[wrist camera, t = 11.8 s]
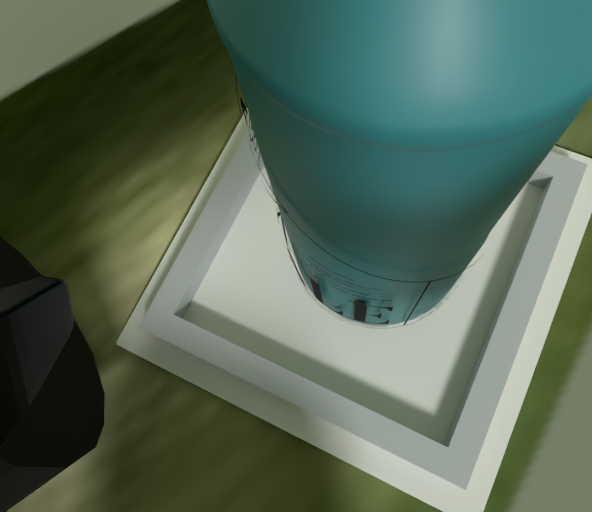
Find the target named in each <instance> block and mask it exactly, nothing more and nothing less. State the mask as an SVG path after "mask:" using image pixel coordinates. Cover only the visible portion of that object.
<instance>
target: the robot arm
mask: <svg viewBox="0 0 592 512" xmlns="http://www.w3.org/2000/svg"><path fill="white" fill-rule="evenodd" d="M72 328H73V313H72V307H71V302H70V296H69V290H68V286H67V284H66V282H65V281H63V280H62V279H57V278H51V277H44V276H40V277H36V278H33V279H30V280H27V281H24V282H21V283H18V284H15V285H12V286H9V287H6V288H3V289H0V448H1V447H2V445H3V444H4V442H5V441H6V440H7V438H8V437H9V435H10V434H11V433H12V431H13V430H14V428H15V427H16V425H17V424H18V423H19V421H20V420H21V418H22V417H23V415H24V414H25V412H26V411H27V409H28V408H29V406H30V405H31V403H32V401H33V400H34V398H35V396H36V395H37V393H38V391H39V389H40V388H41V386H42V384H43V382H44V380H45V379H46V377H47V375H48V373H49V371H50V370H51V368H52V366H53V364H54V363H55V361H56V359H57V357H58V355H59V354H60V352H61V350H62V348H63V346H64V345H65V343H66V341H67V339H68V337H69V336H70V334H71V331H72Z"/></svg>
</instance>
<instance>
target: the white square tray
mask: <svg viewBox="0 0 592 512" xmlns="http://www.w3.org/2000/svg"><path fill="white" fill-rule="evenodd" d="M247 111H248V108H247ZM245 116H246V120H247V123H246V120H245V117H244V114H243V116H242V118H241V120H240V121H239V123H238V125H237V127H236V129H235V130H234V132H233V134H232V136H231V138H230V139H229V141H228V143H227V145H226V146H225V148H224V150H223V152H222V154H221V155H220V157H219V159H218V161H217V163H216V164H215V166H214V168H213V170H212V172H211V173H210V175H209V177H208V179H207V180H206V182H205V184H204V186H203V188H202V189H201V191H200V193H199V195H198V197H197V198H196V200H195V202H194V204H193V206H192V207H191V209H190V211H189V213H188V214H187V216H186V218H185V220H184V222H183V223H182V225H181V227H180V229H179V231H178V232H177V234H176V236H175V238H174V240H173V241H172V243H171V245H170V247H169V248H168V250H167V252H166V254H165V256H164V257H163V259H162V261H161V263H160V265H159V266H158V268H157V270H156V272H155V273H154V275H153V277H152V279H151V281H150V282H149V284H148V286H147V288H146V290H145V291H144V293H143V295H142V297H141V299H140V300H139V302H138V304H137V306H136V307H135V309H134V311H133V313H132V315H131V316H130V318H129V320H128V322H127V324H126V325H125V327H124V329H123V331H122V333H121V334H120V336H119V338H118V340H117V341H116V343H115V344H116V345H118V346H120V347H122V348H124V349H126V350H128V351H130V352H132V353H134V354H136V355H138V356H140V357H142V358H144V359H146V360H148V361H150V362H151V363H153V364H155V365H157V366H159V367H161V368H163V369H165V370H167V371H169V372H171V373H173V374H175V375H177V376H179V377H181V378H183V379H185V380H187V381H189V382H191V383H193V384H195V385H196V386H198V387H200V388H202V389H204V390H206V391H208V392H210V393H212V394H214V395H216V396H218V397H220V398H222V399H224V400H226V401H228V402H230V403H232V404H234V405H236V406H238V407H240V408H241V409H243V410H245V411H247V412H249V413H251V414H253V415H255V416H257V417H259V418H261V419H263V420H265V421H267V422H269V423H271V424H273V425H275V426H277V427H279V428H281V429H283V430H285V431H286V432H288V433H290V434H292V435H294V436H296V437H298V438H300V439H302V440H304V441H306V442H308V443H310V444H312V445H314V446H316V447H318V448H320V449H322V450H324V451H326V452H328V453H330V454H331V455H333V456H335V457H337V458H339V459H341V460H343V461H345V462H347V463H349V464H351V465H353V466H355V467H357V468H359V469H361V470H363V471H365V472H367V473H369V474H371V475H373V476H375V477H376V478H378V479H380V480H382V481H384V482H386V483H388V484H390V485H392V486H394V487H396V488H398V489H400V490H402V491H404V492H406V493H408V494H410V495H412V496H414V497H416V498H418V499H420V500H421V501H423V502H425V503H427V504H429V505H431V506H433V507H435V508H437V509H439V510H441V511H443V512H483V511H484V508H485V505H486V502H487V500H488V497H489V494H490V491H491V489H492V486H493V483H494V480H495V478H496V475H497V472H498V469H499V466H500V464H501V461H502V458H503V455H504V453H505V450H506V447H507V444H508V442H509V439H510V436H511V433H512V431H513V428H514V425H515V422H516V420H517V417H518V414H519V411H520V409H521V406H522V403H523V400H524V398H525V395H526V392H527V389H528V386H529V384H530V381H531V378H532V375H533V373H534V370H535V367H536V364H537V362H538V359H539V356H540V353H541V351H542V348H543V345H544V342H545V340H546V337H547V334H548V331H549V329H550V326H551V323H552V320H553V317H554V315H555V312H556V309H557V306H558V304H559V301H560V298H561V295H562V293H563V290H564V287H565V284H566V282H567V279H568V276H569V273H570V271H571V268H572V265H573V262H574V260H575V257H576V254H577V251H578V248H579V246H580V243H581V240H582V237H583V235H584V232H585V229H586V226H587V224H588V221H589V218H590V215H591V213H592V159H591V158H588V157H586V156H583V155H580V154H577V153H574V152H571V151H568V150H566V149H563V148H560V147H557V146H554V147H553V148H552V150H551V151H550V152H549V154H548V155H547V156H546V158H545V159H544V160H543V162H542V163H541V164H540V166H539V167H538V168H537V170H536V171H535V172H534V174H533V175H532V176H531V178H530V179H529V180H528V182H527V183H526V184H525V186H524V187H523V188H522V190H521V191H520V192H519V194H518V195H517V197H516V198H515V199H514V201H513V202H512V203H511V205H510V206H509V207H508V209H507V210H506V211H505V213H504V214H503V215H502V217H501V218H500V219H499V221H498V222H497V223H496V225H495V226H494V227H493V229H492V230H491V232H490V233H489V235H488V237H487V239H486V241H485V242H484V244H483V245H482V247H481V248H480V250H479V251H478V252H477V254H476V255H475V257H474V258H473V259H472V261H471V262H470V263H469V265H468V266H467V268H466V270H464V272H463V273H462V274H461V275H462V276H460V277H459V279H458V280H457V281H459V280H460V281H459V282H457V281H456V283H455V285H453V287H452V289H451V290H450V292H449V293H447V295H446V296H445V299H446V300H444V298H443V299H442V300H441V301H444V302H442V303H441V304H440V303H438V304H440V306H439V305H438V304H437V305H436V308H435V307H433V308H434V309H433V308H432V310H431V309H430V310H429V311H428V312H426V313H427V315H426V313H424V314H425V315H424V314H422V315H423V316H422V315H420V317H419V316H418V318H417V317H416V318H415V319H413V320H409V321H407V322H406V324H405V325H404V323H405V322H402V323H398V324H392V325H374V326H375V327H374V326H373V325H372V326H371V325H370V326H369V324H367V325H366V324H365V325H364V324H362V323H360V324H359V322H357V323H356V322H355V321H352V320H350V321H348V320H349V319H347V318H346V319H347V320H345V318H344V317H343V318H344V319H343V318H342V316H341V317H340V315H338V314H337V313H335V312H333V311H332V310H330V309H329V308H327V307H326V306H325V305H324V304H322V303H321V302H320V301H319V300H317V299H316V298H315V297H314V296H315V295H314V294H313V293H312V292H311V291H310V289H309V288H308V286H307V284H306V283H305V281H304V279H303V277H302V275H301V273H300V270H299V267H298V264H297V261H296V258H295V255H294V254H293V253H294V252H293V249H292V246H291V243H290V241H289V237H288V234H287V231H286V228H285V232H286V238H287V243H286V239H285V235H284V231H283V225H282V220H281V215H280V216H279V218H278V216H277V212H280V210H279V207H278V204H277V203H276V202H277V201H276V198H275V195H274V194H273V193H274V192H273V193H272V191H273V190H272V186H271V189H270V188H269V186H270V185H271V183H270V180H269V178H268V175H267V172H266V169H265V166H264V163H263V160H262V157H261V153H260V156H259V151H260V150H259V147H258V144H257V148H256V138H254V136H255V134H254V132H253V131H252V129H251V126H252V124H251V120H250V130H249V111H248V116H247V114H246V111H245ZM247 126H248V127H247ZM249 134H251V136H250V137H251V138H252V137H253V142H254V144H253V142H252V139H251V138H250V137H249ZM250 139H251V141H250ZM251 142H252V143H251ZM251 145H252V146H251ZM250 147H251V148H250ZM254 147H255V148H254ZM251 149H252V150H251ZM255 149H256V151H255ZM252 152H253V153H252ZM253 154H254V155H253ZM254 157H255V158H254ZM255 159H256V160H255ZM256 161H257V162H256ZM257 164H258V165H257ZM258 166H259V167H258ZM259 168H260V169H259ZM259 170H261V171H259ZM261 172H262V173H261ZM260 174H261V175H260ZM262 174H263V175H264V177H265V178H264V177H263V175H262ZM261 178H262V179H261ZM265 179H266V180H265ZM266 181H267V182H266ZM263 183H264V184H263ZM267 183H268V184H267ZM264 185H265V186H264ZM268 185H269V186H268ZM271 190H272V191H271ZM267 191H268V192H267ZM269 194H270V195H271V196H270V195H269ZM272 195H273V196H272ZM272 198H273V199H274V200H275V201H276V202H274V200H273V199H272ZM278 220H279V222H278ZM284 227H285V225H284ZM288 241H289V244H288ZM285 243H286V244H285ZM287 244H288V245H289V246H288V247H287ZM287 248H288V249H289V251H290V254H291V256H292V258H293V260H294V263H295V265H296V267H297V269H298V271H299V273H300V275H301V277H302V279H303V281H304V283H305V285H306V287H307V288H306V287H305V286H304V284H303V283H301V282H302V281H301V280H299V279H300V277H299V275H298V273H297V271H296V269H295V266H294V264H293V263H292V259H291V258H290V257H291V256H289V255H290V254H289V253H288V250H287ZM291 250H292V251H291ZM482 255H483V256H482ZM481 256H482V257H481ZM480 257H481V258H480ZM479 258H480V259H479ZM478 259H479V260H478ZM477 260H478V261H477ZM476 261H477V262H476ZM475 262H476V263H475ZM474 263H475V264H474ZM472 264H473V265H472ZM471 265H472V266H471ZM469 266H470V267H469ZM468 267H469V268H468ZM473 267H474V268H473ZM296 273H297V274H296ZM465 273H466V274H465ZM466 276H467V277H466ZM456 284H457V285H456ZM304 287H305V288H304ZM453 288H454V289H453ZM308 290H309V291H310V292H309V291H308ZM455 290H456V291H455ZM306 291H308V292H309V293H310V294H311V295H310V294H309V293H308V292H306ZM451 292H452V293H451ZM312 294H313V295H314V296H313V295H312ZM448 294H449V297H447V296H448ZM310 296H311V297H310ZM312 296H313V297H314V298H313V297H312ZM448 299H449V300H448ZM447 300H448V301H447ZM317 301H318V302H319V303H320V304H319V303H318V302H317ZM446 301H447V302H446ZM317 303H318V304H319V305H320V306H321V307H320V306H319V305H318V304H317ZM322 305H323V306H324V307H323V306H322ZM323 308H324V309H323ZM326 308H327V309H328V310H327V309H326ZM327 311H328V312H327ZM330 311H331V312H330ZM432 311H433V312H432ZM434 311H435V312H434ZM430 312H432V313H430ZM330 313H331V314H330ZM333 313H335V314H333ZM429 313H430V314H431V315H430V314H429ZM337 315H338V316H337ZM428 315H429V316H428ZM335 316H336V317H335ZM426 316H427V317H426ZM337 317H338V318H337ZM421 317H422V318H421ZM424 317H425V318H424ZM419 318H420V319H419ZM341 319H342V320H341ZM343 320H344V321H343ZM418 320H419V321H418ZM346 321H347V322H346ZM351 321H352V322H351ZM348 322H349V323H348ZM354 322H355V323H354ZM413 322H414V323H413ZM351 323H352V324H351ZM354 324H356V325H354ZM361 324H362V325H361ZM407 324H408V325H407ZM358 325H359V326H358ZM403 325H404V326H403ZM362 326H364V327H362ZM376 326H377V327H376ZM379 326H380V327H379ZM381 326H382V327H381ZM383 326H384V327H383ZM386 326H387V327H386ZM399 326H400V327H399ZM368 327H371V328H368ZM392 327H395V328H392ZM385 328H386V329H385Z"/></svg>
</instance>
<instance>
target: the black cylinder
mask: <svg viewBox="0 0 592 512" xmlns="http://www.w3.org/2000/svg"><path fill="white" fill-rule="evenodd" d="M40 276H41V275H40V273H39V272H38V271H37V270H36V269H35V268H34V267H33V266H32V265H31V264H30V263H29V262H28V261H27V259H26V258H25V257H24V256H23V255H22V254H21V253H20V252H19V251H17V250H16V249H15V248H14V247H12V246H11V245H10V244H9V243H7V242H6V241H5V240H4V239H3V238H1V237H0V289H3V288H6V287H9V286H12V285H15V284H18V283H21V282H24V281H27V280H30V279H33V278H36V277H40ZM104 397H105V394H104V391H103V387H102V384H101V380H100V377H99V374H98V370H97V367H96V363H95V360H94V356H93V353H92V351H91V349H90V348H89V346H88V344H87V342H86V340H85V338H84V336H83V335H82V333H81V331H80V329H79V327H78V325H77V324H76V322H75V320H74V318H73V328H72V331H71V334H70V336H69V337H68V339H67V341H66V343H65V345H64V346H63V348H62V350H61V352H60V354H59V355H58V357H57V359H56V361H55V363H54V364H53V366H52V368H51V370H50V371H49V373H48V375H47V377H46V379H45V380H44V382H43V384H42V386H41V388H40V389H39V391H38V393H37V395H36V396H35V398H34V400H33V401H32V403H31V405H30V406H29V408H28V409H27V411H26V412H25V414H24V415H23V417H22V418H21V420H20V421H19V423H18V424H17V425H16V427H15V428H14V430H13V431H12V433H11V434H10V435H9V437H8V438H7V440H6V441H5V442H4V444H3V445H2V447H1V448H0V512H6V511H7V510H9V509H10V508H11V507H13V506H14V505H16V504H17V503H18V502H20V501H21V500H23V499H24V498H25V497H27V496H28V495H30V494H31V493H32V492H34V491H35V490H37V489H38V488H39V487H41V486H42V485H44V484H45V483H46V482H48V481H49V480H50V479H52V478H53V477H55V476H56V475H57V474H59V473H60V472H62V471H63V470H64V469H66V468H67V467H69V466H70V465H71V464H73V463H74V462H76V461H77V460H78V459H80V458H81V457H83V456H84V455H85V454H87V453H88V452H90V451H91V450H92V449H94V448H95V447H96V445H97V443H98V440H99V437H100V434H101V431H102V428H103V426H104Z"/></svg>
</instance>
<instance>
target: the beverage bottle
mask: <svg viewBox="0 0 592 512" xmlns="http://www.w3.org/2000/svg"><path fill="white" fill-rule="evenodd" d="M207 3H208V7H209V10H210V14H211V17H212V19H213V22H214V24H215V26H216V29H217V31H218V33H219V35H220V38H221V40H222V42H223V43H224V45H225V47H226V49H227V50H228V52H229V55H230V58H231V61H232V64H233V67H234V70H235V75H236V76H237V79H238V82H239V85H240V88H241V91H242V94H243V97H244V100H245V103H246V106H247V108H248V111H249V130H250V120H251V124H252V126H251V129H252V131H253V132H254V134H255V136H254V138H256V148H257V144H258V147H259V150H260V151H259V156H260V153H261V157H262V160H263V163H264V166H265V169H266V172H267V175H268V178H269V180H270V183H271V185H270V186H269V185H268V186H269V188H270V189H271V186H272V190H273V191H272V190H271V191H272V193H273V192H274V193H273V194H274V195H275V198H276V201H277V202H276V201H275V200H274V199H273V198H272V199H273V200H274V202H276V203H277V204H278V207H279V210H280V212H277V216H278V218H279V216H280V215H281V220H282V225H283V231H284V235H285V239H286V243H287V238H286V232H285V228H286V231H287V234H288V237H289V241H290V243H291V246H292V249H293V252H294V253H293V254H294V255H295V258H296V261H297V264H298V267H299V270H300V273H301V275H302V277H303V279H304V281H305V283H306V284H307V286H308V288H309V289H310V291H311V292H312V293H313V294H314V295H315V296H314V295H313V294H312V295H313V296H314V297H315V298H316V299H317V300H319V301H320V302H321V303H322V304H324V305H325V306H326V307H327V308H329V309H330V310H332V311H333V312H335V313H337V314H338V315H340V317H341V316H342V318H343V317H344V318H345V320H347V319H349V320H348V321H350V320H352V321H355V322H356V323H357V322H359V324H360V323H362V324H364V325H365V324H366V325H367V324H369V326H370V325H371V326H372V325H373V326H374V325H392V324H398V323H402V322H405V323H404V325H405V324H406V322H407V321H409V320H413V319H415V318H416V317H417V318H418V316H419V317H420V315H422V314H424V313H426V312H428V311H429V310H430V309H431V310H432V308H433V307H435V308H436V305H437V304H438V303H440V304H441V303H442V302H444V301H441V300H442V299H443V298H444V300H446V299H445V296H446V295H447V293H449V292H450V290H451V289H452V287H453V285H455V283H456V281H457V280H458V279H459V277H460V276H462V275H461V274H462V273H463V272H464V270H466V268H467V266H468V265H469V263H470V262H471V261H472V259H473V258H474V257H475V255H476V254H477V252H478V251H479V250H480V248H481V247H482V245H483V244H484V242H485V241H486V239H487V237H488V235H489V233H490V232H491V230H492V229H493V227H494V226H495V225H496V223H497V222H498V221H499V219H500V218H501V217H502V215H503V214H504V213H505V211H506V210H507V209H508V207H509V206H510V205H511V203H512V202H513V201H514V199H515V198H516V197H517V195H518V194H519V192H520V191H521V190H522V188H523V187H524V186H525V184H526V183H527V182H528V180H529V179H530V178H531V176H532V175H533V174H534V172H535V171H536V170H537V168H538V167H539V166H540V164H541V163H542V162H543V160H544V159H545V158H546V156H547V155H548V154H549V152H550V151H551V150H552V148H553V147H554V146H555V144H556V143H557V142H558V140H559V139H560V138H561V136H562V135H563V133H564V132H565V131H566V129H567V128H568V127H569V125H570V124H571V123H572V121H573V120H574V119H575V117H576V116H577V115H578V113H579V112H580V111H581V109H582V108H583V107H584V105H585V104H586V103H587V101H588V100H589V99H590V97H591V96H592V0H207ZM236 88H237V83H236ZM237 97H238V95H237ZM238 102H239V101H238ZM241 105H242V109H243V113H244V117H245V120H246V116H245V112H244V109H245V111H246V114H247V116H248V111H247V109H246V107H245V105H244V103H243V101H242V99H241ZM239 108H240V106H239ZM240 113H241V112H240ZM241 118H242V117H241ZM246 123H247V120H246ZM247 127H248V126H247ZM250 136H251V134H249V137H250ZM250 138H251V137H250ZM251 139H252V142H253V137H252V138H251ZM251 139H250V141H251ZM252 142H251V143H252ZM253 144H254V142H253ZM251 146H252V145H251ZM250 148H251V147H250ZM254 148H255V147H254ZM251 150H252V149H251ZM255 151H256V149H255ZM252 153H253V152H252ZM253 155H254V154H253ZM254 158H255V157H254ZM255 160H256V159H255ZM256 162H257V161H256ZM257 165H258V164H257ZM258 167H259V166H258ZM259 169H260V168H259ZM259 171H261V170H259ZM261 173H262V172H261ZM260 175H261V174H260ZM262 175H263V174H262ZM263 177H264V175H263ZM264 178H265V177H264ZM261 179H262V178H261ZM265 180H266V179H265ZM266 182H267V181H266ZM263 184H264V183H263ZM267 184H268V183H267ZM264 186H265V185H264ZM267 192H268V191H267ZM269 195H270V194H269ZM270 196H271V195H270ZM272 196H273V195H272ZM278 222H279V220H278ZM284 225H285V227H284ZM289 241H288V244H289ZM286 243H285V244H286ZM288 244H287V247H288V246H289V245H288ZM287 250H288V253H289V254H290V251H289V249H288V248H287ZM291 251H292V250H291ZM289 256H291V254H290V255H289ZM482 256H483V255H482ZM482 256H481V257H482ZM481 257H480V258H481ZM290 258H291V259H292V263H293V264H294V266H295V269H296V271H297V273H298V275H299V277H300V279H299V280H301V281H302V282H301V283H303V284H304V286H305V287H306V285H305V283H304V281H303V279H302V277H301V275H300V273H299V271H298V269H297V267H296V265H295V263H294V260H293V258H292V256H291V257H290ZM480 258H479V259H480ZM479 259H478V260H479ZM478 260H477V261H478ZM477 261H476V262H477ZM476 262H475V263H476ZM475 263H474V264H475ZM472 265H473V264H472ZM472 265H471V266H472ZM469 267H470V266H469ZM469 267H468V268H469ZM473 268H474V267H473ZM297 273H296V274H297ZM465 274H466V273H465ZM466 277H467V276H466ZM459 281H460V280H459ZM459 281H457V282H459ZM456 285H457V284H456ZM305 287H304V288H305ZM306 288H307V287H306ZM453 289H454V288H453ZM308 291H309V290H308ZM308 291H306V292H308ZM310 291H309V292H310ZM455 291H456V290H455ZM309 292H308V293H309ZM451 293H452V292H451ZM309 294H310V293H309ZM310 295H311V294H310ZM313 296H312V297H313ZM310 297H311V296H310ZM314 297H313V298H314ZM447 297H449V294H448V296H447ZM448 300H449V299H448ZM448 300H447V301H448ZM447 301H446V302H447ZM317 302H318V301H317ZM318 303H319V302H318ZM318 303H317V304H318ZM319 304H320V303H319ZM319 304H318V305H319ZM440 304H438V305H439V306H440ZM319 306H320V305H319ZM322 306H323V305H322ZM320 307H321V306H320ZM323 307H324V306H323ZM327 308H326V309H327ZM323 309H324V308H323ZM433 309H434V308H433ZM327 310H328V309H327ZM327 312H328V311H327ZM330 312H331V311H330ZM432 312H433V311H432ZM432 312H430V313H432ZM434 312H435V311H434ZM335 313H333V314H335ZM430 313H429V314H430ZM330 314H331V313H330ZM338 315H337V316H338ZM424 315H425V314H424ZM426 315H427V313H426ZM430 315H431V314H430ZM422 316H423V315H422ZM428 316H429V315H428ZM335 317H336V316H335ZM426 317H427V316H426ZM337 318H338V317H337ZM344 318H343V319H344ZM346 318H347V319H346ZM421 318H422V317H421ZM424 318H425V317H424ZM419 319H420V318H419ZM341 320H342V319H341ZM343 321H344V320H343ZM352 321H351V322H352ZM418 321H419V320H418ZM346 322H347V321H346ZM355 322H354V323H355ZM348 323H349V322H348ZM413 323H414V322H413ZM351 324H352V323H351ZM362 324H361V325H362ZM354 325H356V324H354ZM404 325H403V326H404ZM407 325H408V324H407ZM358 326H359V325H358ZM362 327H364V326H362ZM374 327H375V326H374ZM376 327H377V326H376ZM379 327H380V326H379ZM381 327H382V326H381ZM383 327H384V326H383ZM386 327H387V326H386ZM399 327H400V326H399ZM368 328H371V327H368ZM392 328H395V327H392ZM385 329H386V328H385Z"/></svg>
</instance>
